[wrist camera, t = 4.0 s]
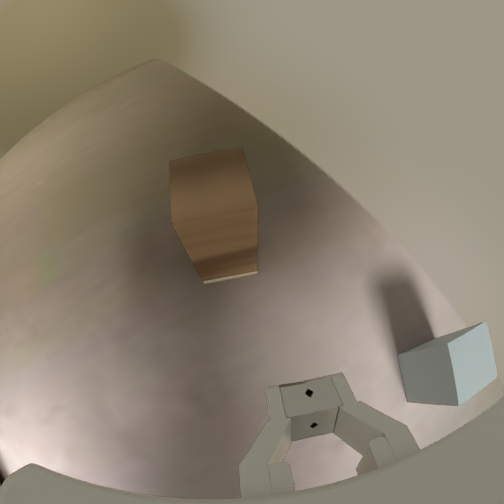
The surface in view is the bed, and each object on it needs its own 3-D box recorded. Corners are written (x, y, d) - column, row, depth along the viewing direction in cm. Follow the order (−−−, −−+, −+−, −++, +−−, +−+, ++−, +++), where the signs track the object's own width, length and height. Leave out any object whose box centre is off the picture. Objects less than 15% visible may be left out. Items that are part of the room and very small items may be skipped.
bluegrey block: (444, 382, 20) (497, 376, 13) (407, 402, 20) (458, 405, 12) (434, 338, 22) (486, 320, 15) (397, 355, 22) (447, 343, 14)
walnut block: (257, 274, 25) (257, 206, 15) (204, 284, 25) (171, 222, 15) (247, 228, 27) (242, 147, 17) (198, 237, 27) (169, 161, 17)
